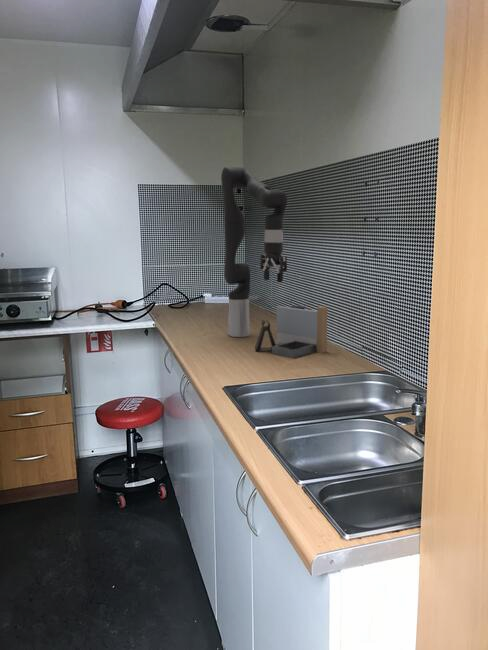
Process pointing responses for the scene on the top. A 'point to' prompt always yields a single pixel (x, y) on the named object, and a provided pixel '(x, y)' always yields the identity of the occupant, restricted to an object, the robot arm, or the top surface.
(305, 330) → the door
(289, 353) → the keeper
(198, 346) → the top surface
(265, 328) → the door stopper
